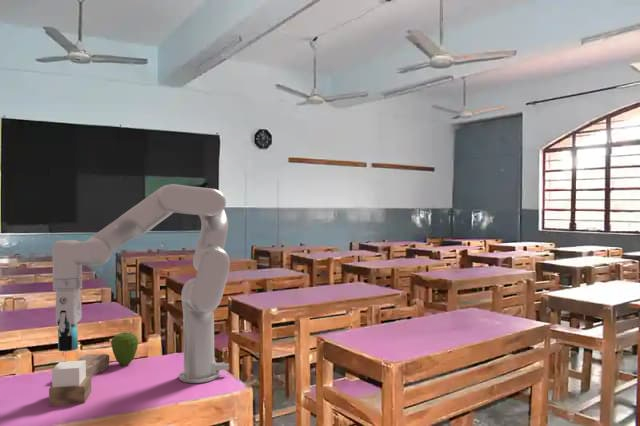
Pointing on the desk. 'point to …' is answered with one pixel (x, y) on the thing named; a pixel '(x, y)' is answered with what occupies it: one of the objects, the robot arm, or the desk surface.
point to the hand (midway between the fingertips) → (68, 346)
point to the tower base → (70, 393)
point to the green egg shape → (124, 347)
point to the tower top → (69, 373)
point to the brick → (95, 363)
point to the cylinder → (74, 338)
